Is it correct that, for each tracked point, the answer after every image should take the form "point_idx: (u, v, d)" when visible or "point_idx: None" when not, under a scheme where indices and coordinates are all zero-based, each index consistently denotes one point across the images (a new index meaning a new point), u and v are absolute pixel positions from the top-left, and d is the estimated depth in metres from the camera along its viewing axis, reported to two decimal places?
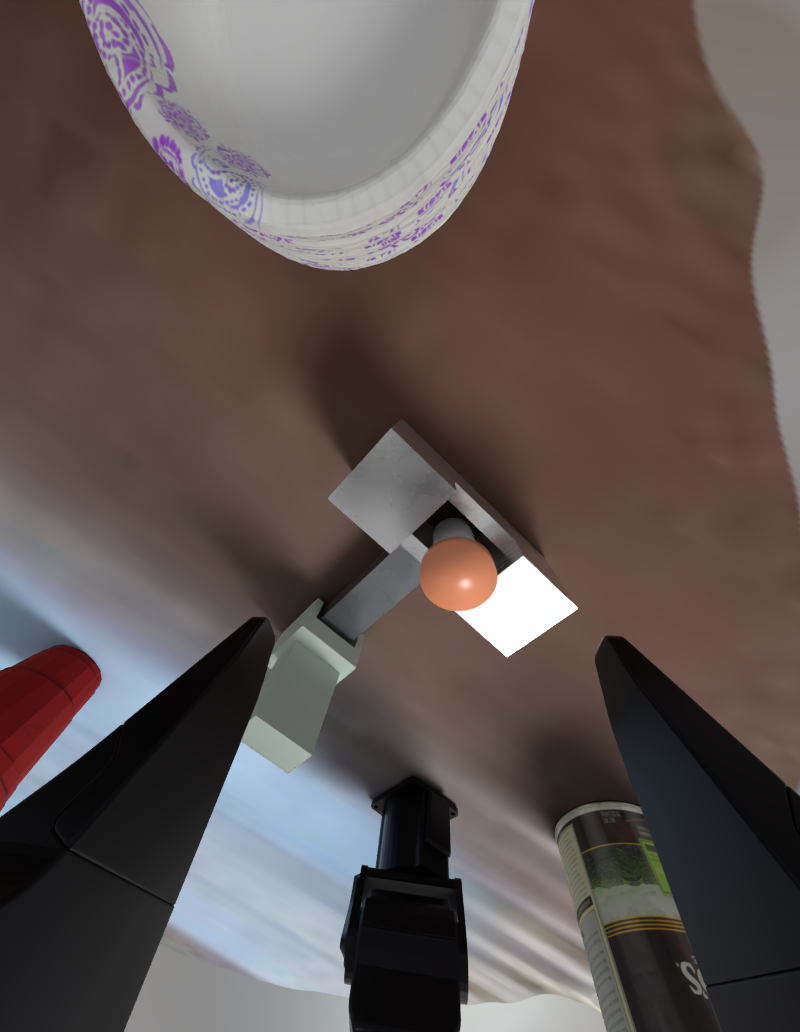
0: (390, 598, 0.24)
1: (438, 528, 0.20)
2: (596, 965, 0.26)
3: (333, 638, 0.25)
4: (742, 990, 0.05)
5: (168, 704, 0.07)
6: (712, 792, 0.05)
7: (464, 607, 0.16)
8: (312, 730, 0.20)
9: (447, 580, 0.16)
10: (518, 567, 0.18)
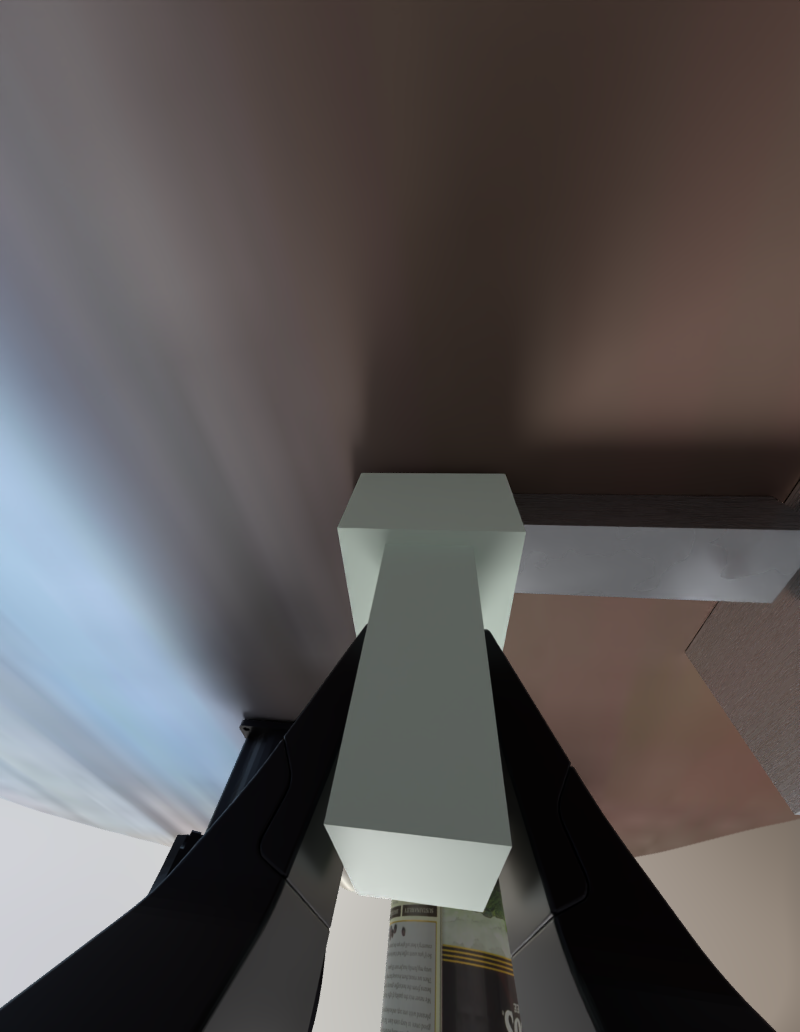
0: (653, 585, 0.12)
1: None
2: (412, 975, 0.23)
3: None
4: (522, 957, 0.05)
5: (322, 717, 0.07)
6: (505, 772, 0.06)
7: None
8: None
9: None
10: None
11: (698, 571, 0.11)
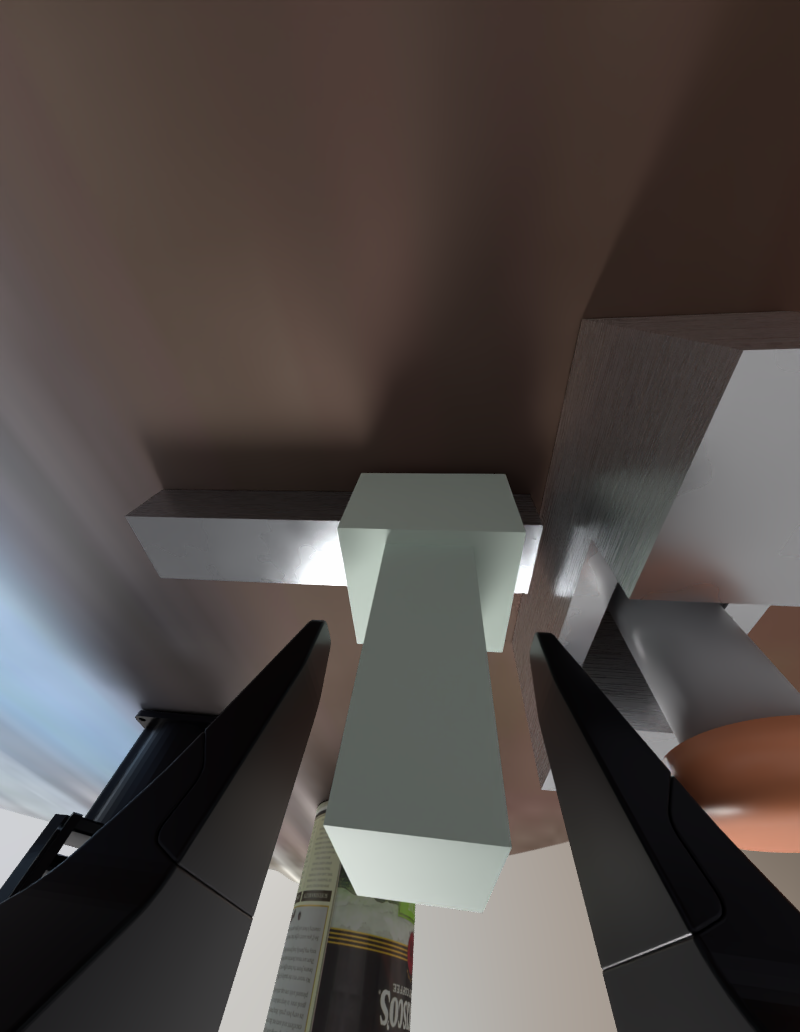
0: None
1: None
2: (299, 956, 0.24)
3: None
4: (625, 972, 0.05)
5: (246, 710, 0.07)
6: (602, 781, 0.06)
7: None
8: None
9: (786, 809, 0.06)
10: None
11: None
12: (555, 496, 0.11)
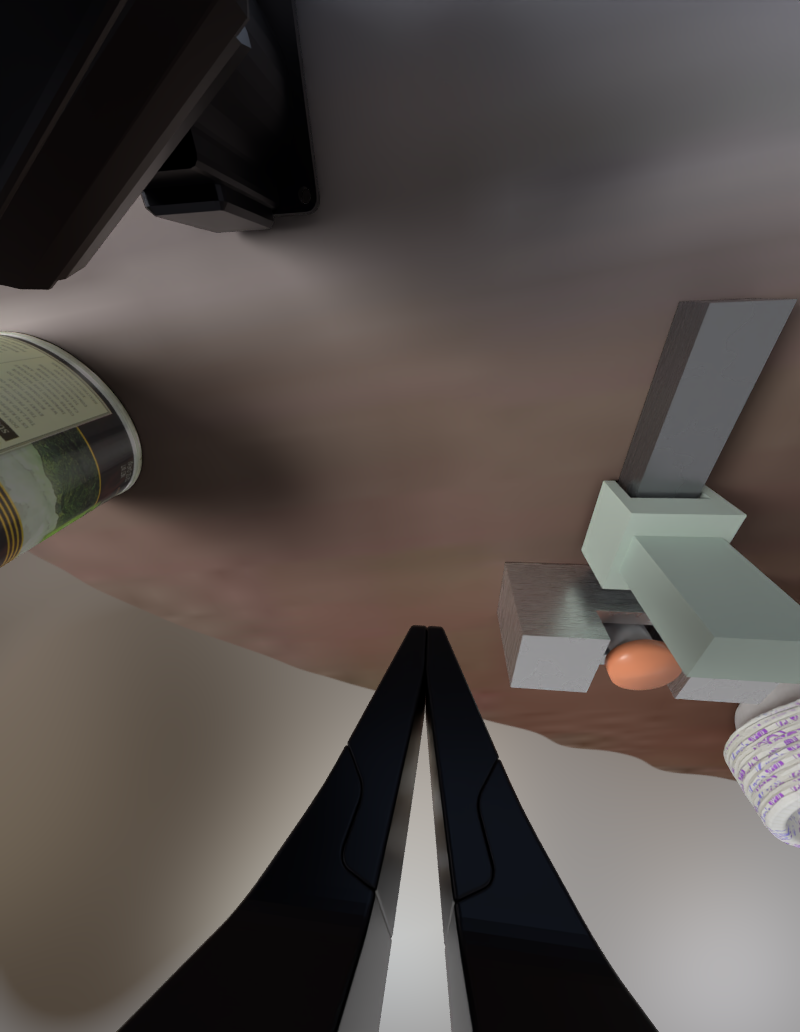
0: None
1: None
2: None
3: None
4: (448, 945, 0.06)
5: (383, 722, 0.06)
6: (435, 765, 0.06)
7: (624, 660, 0.19)
8: None
9: (653, 667, 0.19)
10: (582, 685, 0.20)
11: None
12: None
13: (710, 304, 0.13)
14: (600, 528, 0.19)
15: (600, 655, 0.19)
